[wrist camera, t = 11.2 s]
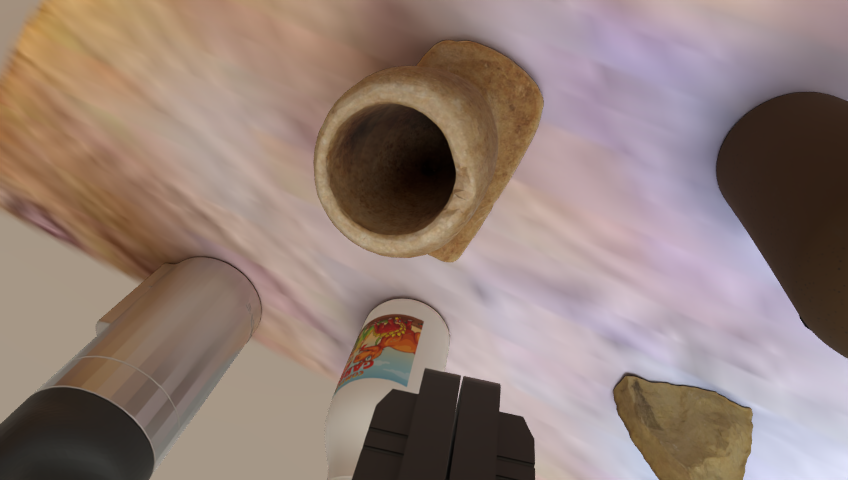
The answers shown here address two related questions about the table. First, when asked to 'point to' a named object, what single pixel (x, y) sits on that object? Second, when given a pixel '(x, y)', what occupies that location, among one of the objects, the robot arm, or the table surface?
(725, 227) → the table surface
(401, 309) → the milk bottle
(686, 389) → the rock
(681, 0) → the table surface
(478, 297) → the table surface
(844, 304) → the olive oil
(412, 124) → the tan hollow piece
